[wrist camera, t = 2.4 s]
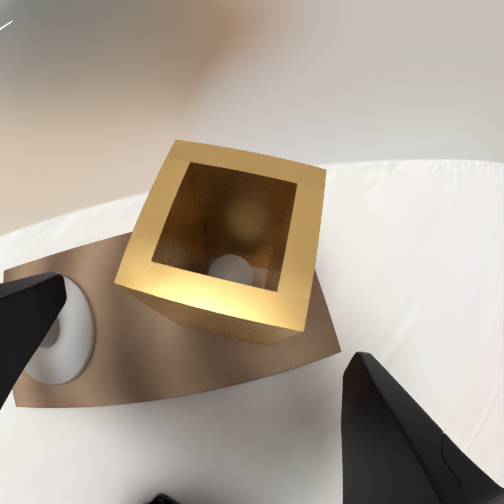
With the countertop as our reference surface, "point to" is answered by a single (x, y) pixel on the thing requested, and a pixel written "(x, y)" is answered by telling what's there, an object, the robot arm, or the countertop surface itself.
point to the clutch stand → (147, 338)
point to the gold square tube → (227, 241)
